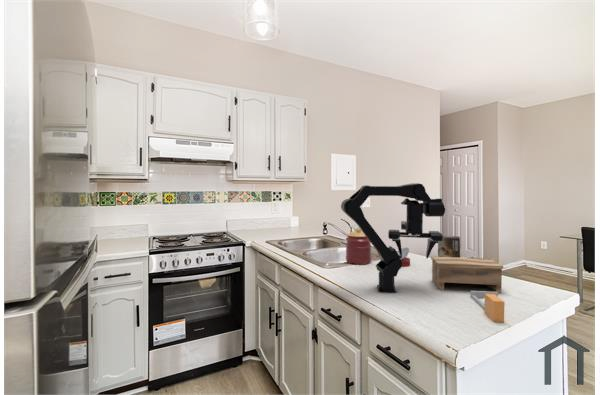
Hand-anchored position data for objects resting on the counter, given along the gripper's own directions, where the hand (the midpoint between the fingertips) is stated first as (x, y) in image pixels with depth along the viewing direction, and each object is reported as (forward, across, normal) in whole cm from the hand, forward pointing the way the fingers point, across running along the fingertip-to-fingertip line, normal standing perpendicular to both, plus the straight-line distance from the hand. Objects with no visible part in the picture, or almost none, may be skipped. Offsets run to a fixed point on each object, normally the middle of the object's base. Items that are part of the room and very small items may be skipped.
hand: (413, 257), depth 114 cm
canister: (+12, +23, -36) cm, 45 cm away
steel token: (+13, -23, +4) cm, 27 cm away
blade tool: (+12, -23, +13) cm, 29 cm away
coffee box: (+12, -18, -27) cm, 35 cm away
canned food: (+12, +3, -36) cm, 38 cm away
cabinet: (+12, -19, -7) cm, 24 cm away
